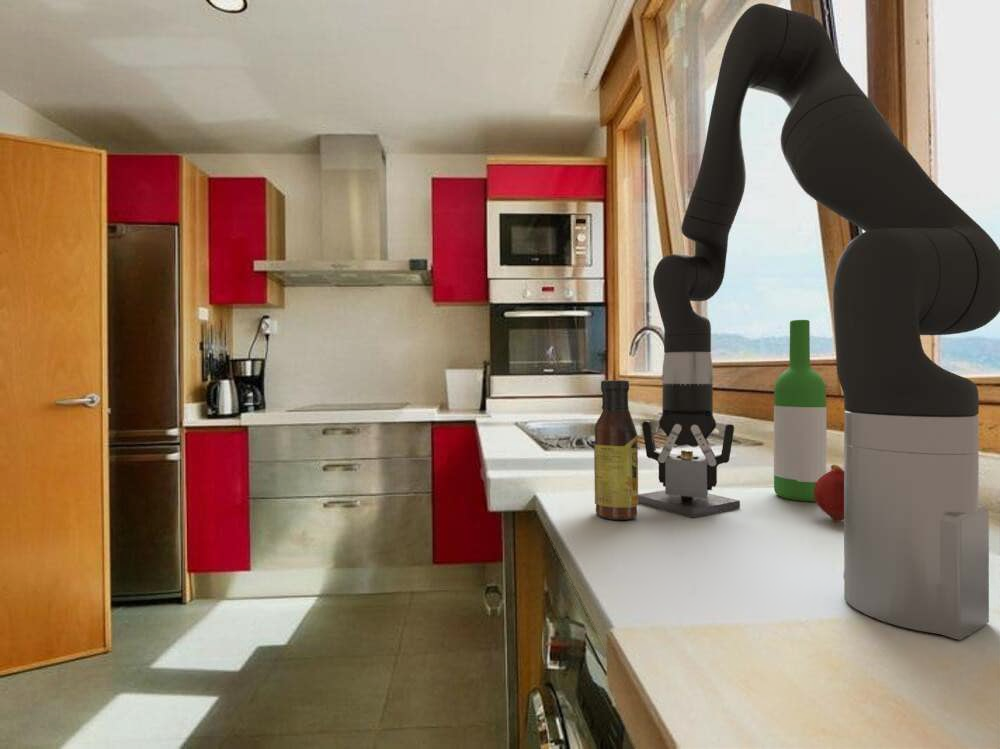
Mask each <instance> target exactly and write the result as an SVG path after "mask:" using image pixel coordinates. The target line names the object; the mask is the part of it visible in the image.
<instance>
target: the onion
mask: <svg viewBox="0 0 1000 749" xmlns="http://www.w3.org/2000/svg"><path fill="white" fill-rule="evenodd" d="M830 469H831V470H829V471H828V472H826V474H824V475H823V476H822V477H820V478H819V479H818V481H817V482H816V484H815V486H814V491H813V493H814V499H815V501H814V502H815V503H816V505H817V506H818V507H819V509H821V511H822V512H824V513H825V514H826V515H827V516H829V518H831V519H832V520H833V521H834V522H838V523H839V522H842V521H844V469H843V468H841V467H840V466H839V464H832V465H830Z"/></svg>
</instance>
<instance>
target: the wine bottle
mask: <svg viewBox="0 0 1000 749" xmlns="http://www.w3.org/2000/svg"><path fill="white" fill-rule="evenodd" d="M810 328H811V327H810V320H809V319H794V320H790V322H789V366H788V368H787V369H786V370H784V371H783V372H782V373H781V374H780V375H779V376H778V378H777V380H776V382H775V384H774V389H773V390H774V391H773V392H774V393H773V488H774V493H775V495H777V496H779V497H780V498H783V499H786V500H791V501H798V502H816V501H815V499H814V493H813V491H814V486H815V484H816V482H817V481H818V479H819V478H820V477H822V476H823V475H824V474H826V473H827V388H826V383H825V381H824V379H823V377H822V376H821V375H820V374H819V373H818V372H817V371H816V370H814V369H813V368H812V367H811V353H810V352H811V348H810V345H811V339H810V338H811V337H810V336H811V334H810V333H811V332H810Z"/></svg>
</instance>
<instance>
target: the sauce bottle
mask: <svg viewBox="0 0 1000 749" xmlns="http://www.w3.org/2000/svg"><path fill="white" fill-rule="evenodd" d="M600 390H601V393H602V396H601V397H602V398H601V400H602V401H601V402H602V406H601V409H602V412H601V413H600V416H599V418H598V419H597V421H596V423H595V425H594V445H593V449H594V450H593V451H594V452H593V454H594V504H595V513H596V514H595V515H597V516H598V517H601V518H603V519H607V520H615V521H616V520H622V521H623V520H625V521H627V520H631V519H634V518H635V517H637V515H638V507H639V506H638V505H639V503H638V494H639V468H638V467H639V463H638V462H639V459H638V458H639V457H638V452H639V450H638V433H637V429H636V426H635V423H634V421H633V417H632V415H631V411H630V409H629V407H630V406H629V393H628V392H629V390H630V382H629V380H626V379H625V380H624V379H622V380H621V379H620V380H617V379H616V380H615V379H613V380H612V379H611V380H607V379H606V380H601V381H600Z"/></svg>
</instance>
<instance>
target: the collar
mask: <svg viewBox="0 0 1000 749" xmlns="http://www.w3.org/2000/svg"><path fill="white" fill-rule="evenodd" d="M707 466H708V462H707V460H706V458H705V456H704V455H695V454H693V459H681V454H675V453H670V454H669V456H668V457H667V458H666V459H665V487H664V490H665V494H667V495H678V496H689V497H700V498H707V495H708V493H709V491H710V490H707Z"/></svg>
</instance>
